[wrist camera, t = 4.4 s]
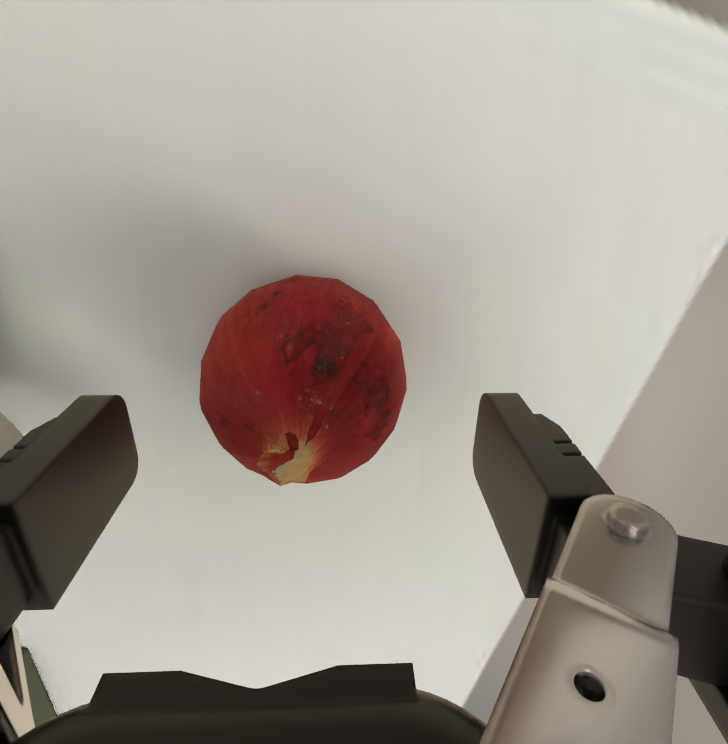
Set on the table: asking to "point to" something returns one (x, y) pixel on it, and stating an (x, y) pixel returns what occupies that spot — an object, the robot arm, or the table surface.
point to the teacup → (8, 435)
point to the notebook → (36, 692)
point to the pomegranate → (302, 380)
